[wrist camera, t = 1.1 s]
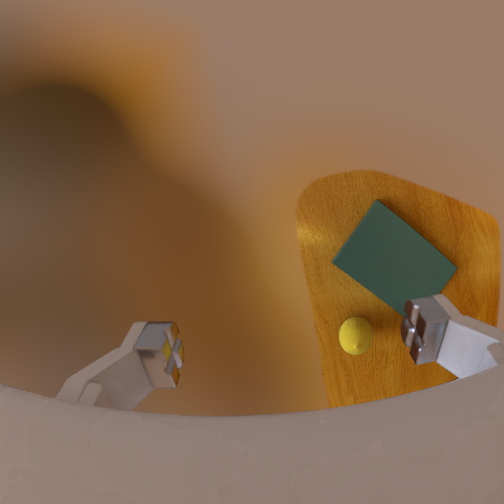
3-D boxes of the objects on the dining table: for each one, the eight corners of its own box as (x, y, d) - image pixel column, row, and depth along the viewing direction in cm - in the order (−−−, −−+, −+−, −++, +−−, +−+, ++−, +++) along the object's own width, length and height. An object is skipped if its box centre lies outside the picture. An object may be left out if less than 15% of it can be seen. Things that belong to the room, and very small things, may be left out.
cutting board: (454, 266, 43) (457, 268, 41) (411, 321, 46) (413, 324, 45) (376, 199, 44) (377, 199, 43) (332, 260, 48) (332, 262, 46)
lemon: (374, 312, 48) (380, 334, 40) (365, 341, 49) (369, 365, 41) (342, 307, 49) (344, 327, 41) (335, 335, 50) (335, 360, 42)
